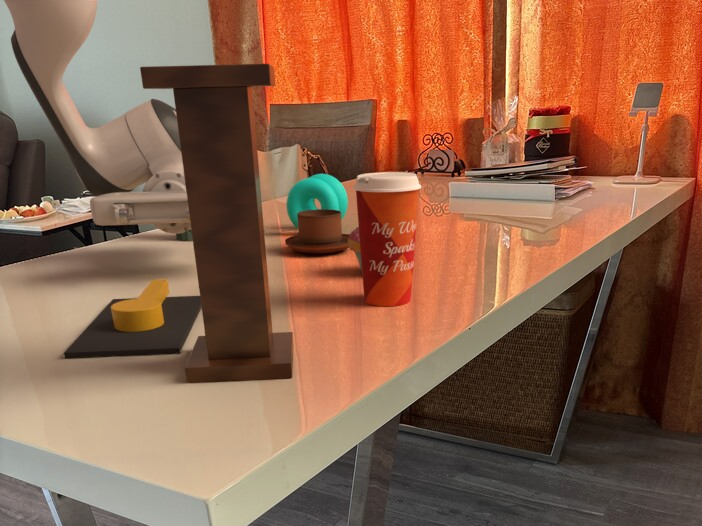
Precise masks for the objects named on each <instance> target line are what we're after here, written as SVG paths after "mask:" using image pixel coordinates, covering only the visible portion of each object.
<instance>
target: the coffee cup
mask: <svg viewBox="0 0 702 526" xmlns="http://www.w3.org/2000/svg"><path fill="white" fill-rule="evenodd" d="M352 189H353V190H354V191H355V194H356V211H357V221H358V222H357V223H358V227H359V238H360V251H361V264H362V271H361V274H362V276H361V277H362V286H363V287H362V288H363V296H364V302H365V303H366V304H367V305H371V306H375V307H376V306H377V307H397V306H403V305H407V304H408V303H410V302H411V297H412V289H413V279H414V278H413V277H414V263H415V251H416V235H417V222H418V221H417V220H418V205H419V190H420V189H422V185H421V184H420V181H419V178H418V176H417V174H416V173H413V172H403V171H384V172H368V173H361V174H358V175H357V176H356V181H355V185H353V188H352Z"/></svg>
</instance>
